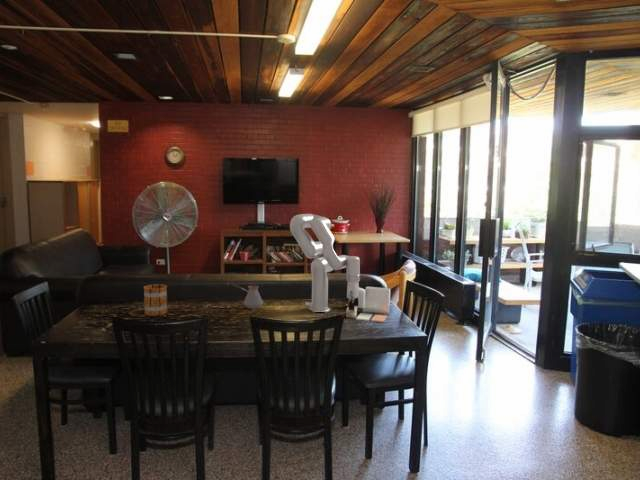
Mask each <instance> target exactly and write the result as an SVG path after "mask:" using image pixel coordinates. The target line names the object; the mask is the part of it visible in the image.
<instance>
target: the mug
mask: <svg viewBox="0 0 640 480" xmlns="http://www.w3.org/2000/svg"><path fill="white" fill-rule="evenodd" d="M167 288H168V285H166V284H160V283H159V284H157V283H156V284H148V285H143V305H144V312H143V315H146V316H162V315H166V314H168V294H167V291H168V289H167Z"/></svg>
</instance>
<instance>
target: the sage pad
mask: <svg viewBox="0 0 640 480" xmlns="http://www.w3.org/2000/svg"><path fill="white" fill-rule="evenodd" d="M373 315H374V314H371V313H362V312H360V313H359V314H357V316H356V317H355V320H357V321H365V322H369V320H371V319H372V318H373V317H374V316H373Z"/></svg>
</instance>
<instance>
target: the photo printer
mask: <svg viewBox="0 0 640 480" xmlns="http://www.w3.org/2000/svg"><path fill="white" fill-rule="evenodd" d="M352 301H353V299H352ZM354 307H357V309H363V310H364V309H365V289H364V288H362V287H359V295H358V306H354Z"/></svg>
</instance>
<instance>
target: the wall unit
mask: <svg viewBox="0 0 640 480" xmlns="http://www.w3.org/2000/svg"><path fill="white" fill-rule="evenodd" d="M364 290H365V308H364V309H363V310H362V311H361V313H366V314H373V315H385V316H390V315H391V314H392V311H393V310H391V309H390V308H391V307H390V306H391V288H387V287H378V286H377V287H376V286H366V287H365V289H364Z"/></svg>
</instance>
